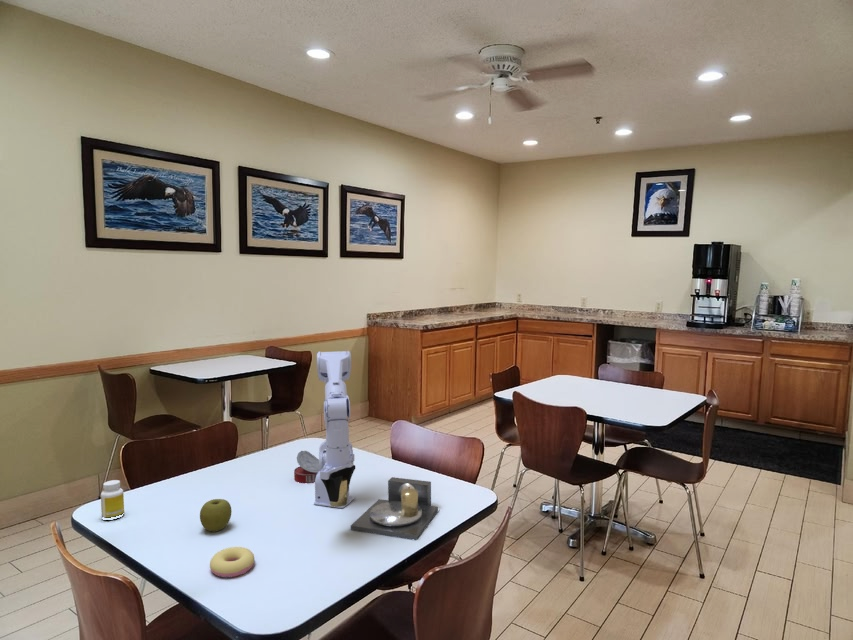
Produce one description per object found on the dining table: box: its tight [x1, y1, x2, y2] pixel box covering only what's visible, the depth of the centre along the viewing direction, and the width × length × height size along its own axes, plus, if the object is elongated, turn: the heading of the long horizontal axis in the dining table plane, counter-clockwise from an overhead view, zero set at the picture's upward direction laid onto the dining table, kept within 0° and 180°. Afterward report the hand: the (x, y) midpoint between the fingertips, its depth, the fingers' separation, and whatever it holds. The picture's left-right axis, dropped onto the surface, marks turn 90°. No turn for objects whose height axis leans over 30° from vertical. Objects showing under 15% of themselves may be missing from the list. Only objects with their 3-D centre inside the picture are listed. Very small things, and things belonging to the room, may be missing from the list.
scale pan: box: [370, 501, 422, 526], centre depth 146 cm, size 14×14×1 cm
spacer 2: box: [401, 489, 418, 517], centre depth 145 cm, size 4×4×6 cm
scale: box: [350, 476, 439, 541], centre depth 148 cm, size 18×21×7 cm
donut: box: [209, 546, 255, 578], centre depth 123 cm, size 10×5×9 cm
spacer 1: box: [330, 477, 348, 508], centre depth 138 cm, size 4×4×6 cm
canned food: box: [293, 450, 319, 484], centre depth 179 cm, size 11×10×10 cm
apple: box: [199, 498, 233, 533], centre depth 142 cm, size 8×8×7 cm
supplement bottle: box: [100, 479, 125, 518], centre depth 149 cm, size 5×5×10 cm
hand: (338, 497), depth 138 cm, fingers closed on spacer 1, 4 cm apart
